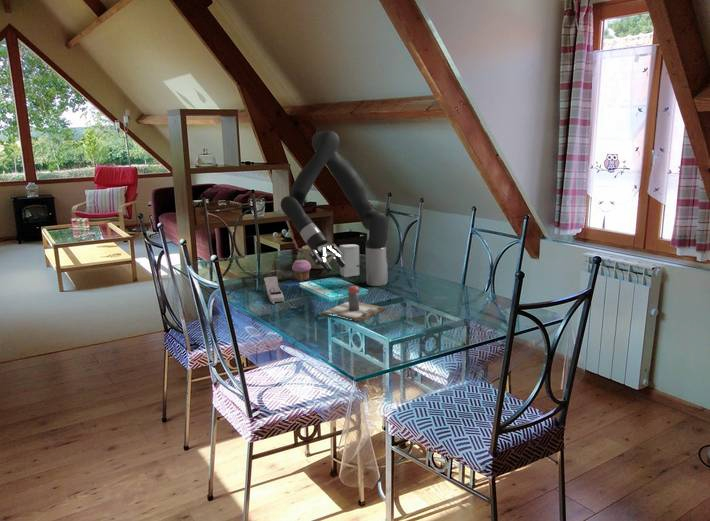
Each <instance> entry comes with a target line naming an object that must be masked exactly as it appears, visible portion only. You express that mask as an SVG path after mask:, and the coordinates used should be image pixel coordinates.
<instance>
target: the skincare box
mask: <svg viewBox="0 0 710 521" xmlns="http://www.w3.org/2000/svg"><path fill="white" fill-rule="evenodd" d="M339 250H340V251H341V252H342V254H343V255H342V256H341V258H342V260H343V261H344V262H345V266H344V267H342V268H341V266H340V265H339V274H340V276H342V277H343V278H349V277H354V276H355V277H356V276H360V245H358V244H354V243H351V244H340V245H339Z"/></svg>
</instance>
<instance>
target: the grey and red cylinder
mask: <svg viewBox="0 0 710 521" xmlns="http://www.w3.org/2000/svg"><path fill="white" fill-rule="evenodd" d="M347 288H348V291H347V292H348V293H347V294H348V301H349V310H350V311H357V310H359V302H360V291H359V286H358V285H351V286H350V285H349V286H347Z"/></svg>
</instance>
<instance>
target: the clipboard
mask: <svg viewBox="0 0 710 521" xmlns="http://www.w3.org/2000/svg"><path fill="white" fill-rule="evenodd" d="M386 310H387V307H386V306H380V305H375V304H369V303H364V302H360V301H359V310H357V311H350V310H349V300H348V301H346V302H344V303H343V302H342V303H341V304H339V305H336V306H334V307H332V308H329V309H327V310H324V311H323V312H321V313H322V314H321V315H323V314H324V316H328V314H332V315H333V314H337V315H338V316H341V317H345V318H348V319H352V320H356V321H359V322H358V323H361V322H364V321H366V320H367V319H370V318H371V317H373V316H376V315H378V314H380V313H382V312H384V311H386ZM360 321H361V322H360Z"/></svg>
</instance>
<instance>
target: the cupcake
mask: <svg viewBox="0 0 710 521" xmlns="http://www.w3.org/2000/svg"><path fill="white" fill-rule="evenodd" d="M291 269H292V271H293V272H294V274H295V278H296V280H297V281H299V282H304V280H305V281H308V280H309V279H310V270H311V269H312V268H311V265H310V263H309V262H308V261H307V260H305V259H298V260H297V259H296V260H295V261H294V262H293V264H292V266H291Z"/></svg>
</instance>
